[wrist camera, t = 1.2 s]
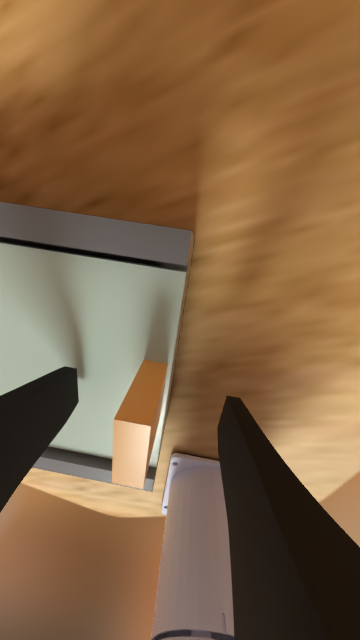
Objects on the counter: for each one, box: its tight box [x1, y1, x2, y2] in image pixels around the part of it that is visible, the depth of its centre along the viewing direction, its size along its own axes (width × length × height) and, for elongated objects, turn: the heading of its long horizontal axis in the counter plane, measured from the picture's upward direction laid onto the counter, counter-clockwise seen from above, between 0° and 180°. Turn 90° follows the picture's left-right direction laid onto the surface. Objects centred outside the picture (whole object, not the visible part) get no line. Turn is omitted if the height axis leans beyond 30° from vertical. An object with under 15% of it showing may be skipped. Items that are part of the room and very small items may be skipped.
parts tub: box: [0, 202, 195, 492], centre depth 12 cm, size 15×17×5 cm
